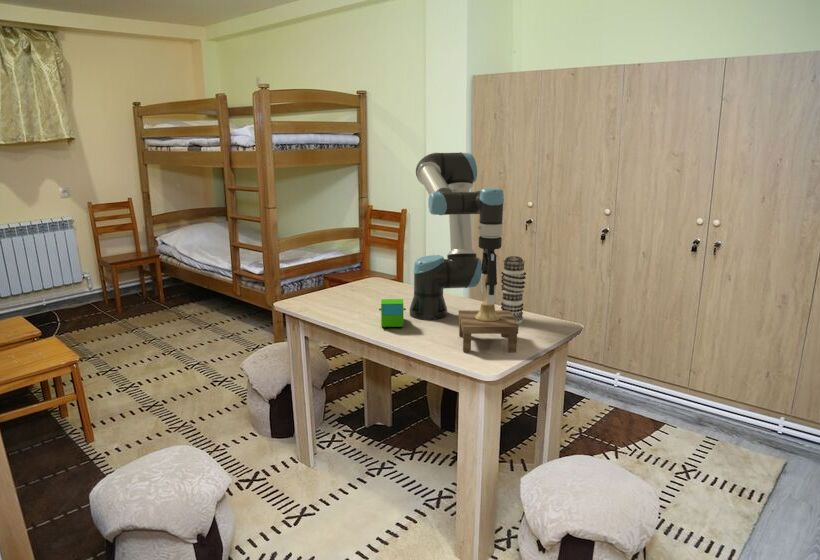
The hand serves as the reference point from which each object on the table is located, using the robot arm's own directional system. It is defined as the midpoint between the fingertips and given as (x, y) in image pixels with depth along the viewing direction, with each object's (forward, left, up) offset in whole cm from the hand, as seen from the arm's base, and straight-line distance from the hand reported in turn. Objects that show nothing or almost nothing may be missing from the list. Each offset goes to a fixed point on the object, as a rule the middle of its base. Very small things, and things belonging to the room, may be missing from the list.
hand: (487, 298), depth 191 cm
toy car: (-21, -33, -16) cm, 42 cm away
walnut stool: (0, 0, -16) cm, 16 cm away
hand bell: (0, 0, -7) cm, 7 cm away
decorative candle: (-25, +13, -16) cm, 32 cm away
